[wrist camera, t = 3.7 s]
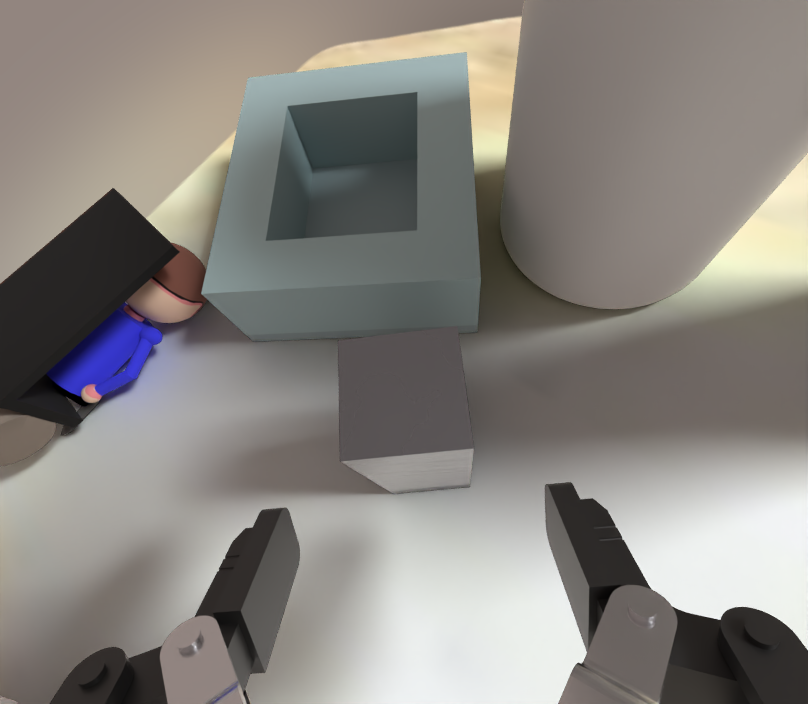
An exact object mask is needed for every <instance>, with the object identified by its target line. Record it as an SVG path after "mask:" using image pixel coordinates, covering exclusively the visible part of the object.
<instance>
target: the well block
mask: <svg viewBox="0 0 808 704" xmlns="http://www.w3.org/2000/svg"><path fill="white" fill-rule="evenodd" d="M480 284H481V272H480V256H479V240H478V224H477V208H476V193H475V177H474V161H473V145H472V129H471V113H470V97H469V81H468V65H467V52H464V53H456V54H447V55H439V56H430V57H422V58H413V59H405V60H396V61H387V62H379V63H370V64H362V65H353V66H345V67H336V68H328V69H319V70H311V71H302V72H294V73H286V74H277V75H268V76H260V77H251V78H248V80H247V85H246V90H245V94H244V100H243V104H242V108H241V113H240V117H239V122H238V127H237V131H236V136H235V140H234V145H233V150H232V154H231V159H230V163H229V168H228V173H227V177H226V182H225V186H224V191H223V196H222V200H221V205H220V210H219V214H218V219H217V223H216V228H215V233H214V237H213V242H212V246H211V251H210V256H209V260H208V265H207V269H206V274H205V279H204V283H203V288H202V292H201V294H202V295H203V296H204V297H205V298H206V299H207V300H208V301H209V302H211V303H212V304H213V305H214V306H215V307H216V308H217V309H218V310H219V311H220V312H221V313H223V314H224V315H225V316H226V317H227V318H228V319H229V320H230V321H231V322H232V323H233V324H234V325H236V326H237V327H238V328H239V329H240V330H241V331H242V332H243V333H244V334H245V335H246V336H247V337H249V338H250V339H251V340H252V341H253V342H257V341H282V340H306V339H330V338H354V337H371V336H379V335H387V334H395V333H403V332H412V331H420V330H428V329H436V328H444V327H453V326H457V327H458V333H475V332H478V316H479V300H480Z"/></svg>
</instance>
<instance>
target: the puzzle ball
mask: <svg viewBox="0 0 808 704" xmlns="http://www.w3.org/2000/svg"><path fill="white" fill-rule="evenodd" d="M0 704H18V703H17V702H16V701H15V700H11V699H8V698H4V697H3V696H0Z"/></svg>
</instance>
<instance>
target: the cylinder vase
mask: <svg viewBox="0 0 808 704" xmlns="http://www.w3.org/2000/svg"><path fill="white" fill-rule="evenodd" d="M807 153H808V0H524V4H523V13H522V22H521V31H520V40H519V49H518V58H517V67H516V76H515V85H514V94H513V103H512V112H511V121H510V130H509V139H508V148H507V157H506V166H505V175H504V184H503V193H502V202H501V211H500V227H501V233H502V237H503V241H504V244H505V246H506V249H507V251H508V253H509V255H510V257H511V258H512V260H513V261H514V263H515V264H516V266H517V267H518V268H519V269H520V270H521V272H522V273H523V274H524V275H525V276H526V277H527V278H529V279H530V280H531V281H532V282H533V283H535V284H536V285H537V286H539V287H540V288H542V289H543V290H545V291H546V292H548V293H550V294H552V295H554V296H556V297H558V298H560V299H563V300H565V301H568V302H571V303H574V304H578V305H582V306H586V307H592V308H600V309H626V308H634V307H640V306H644V305H648V304H652V303H655V302H658V301H660V300H663V299H665V298H667V297H669V296H671V295H673V294H675V293H677V292H678V291H680V290H681V289H683V288H684V287H686V286H687V285H688V284H690V283H691V282H692V281H693V280H694V279H695V278H696V277H697V276H698V275H699V274H700V273H701V272H702V271H703V270H704V269H705V267H706V266H707V265H708V264H709V263H710V262H711V261H712V260H713V258H714V257H715V256H716V255H717V254H718V253H719V252H720V251H721V250H722V248H723V247H724V246H725V245H726V244H727V243H728V242H729V241H730V239H731V238H732V237H733V236H734V235H735V234H736V233H737V232H738V231H739V229H740V228H741V227H742V226H743V225H744V224H745V223H746V222H747V220H748V219H749V218H750V217H751V216H752V215H753V214H754V213H755V212H756V210H757V209H758V208H759V207H760V206H761V205H762V204H763V203H764V201H765V200H766V199H767V198H768V197H769V196H770V195H771V194H772V193H773V191H774V190H775V189H776V188H777V187H778V186H779V185H780V184H781V182H782V181H783V180H784V179H785V178H786V177H787V176H788V175H789V174H790V172H791V171H792V170H793V169H794V168H795V167H796V166H797V165H798V163H799V162H800V161H801V160H802V159H803V158H804V157H805V156H806V155H807Z"/></svg>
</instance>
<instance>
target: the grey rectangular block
mask: <svg viewBox="0 0 808 704" xmlns="http://www.w3.org/2000/svg"><path fill="white" fill-rule="evenodd" d="M338 372H339V433H340V462H341V463H343V464H345V465H346V466H348V467H350V468H351V469H353V470H355V471H356V472H358V473H360V474H361V475H363V476H365V477H366V478H368V479H370V480H371V481H373V482H375V483H376V484H378V485H380V486H381V487H383V488H385V489H386V490H388V491H390V492H391V493H393V494H400V493H411V492H422V491H433V490H444V489H455V488H466V487H470V481H471V472H472V463H473V454H474V444H473V437H472V430H471V422H470V415H469V408H468V400H467V393H466V385H465V378H464V371H463V363H462V356H461V349H460V341H459V334H458V327H457V326H453V327H444V328H436V329H428V330H420V331H412V332H403V333H395V334H387V335H379V336H371V337H362V338H354V339H346V340H338Z"/></svg>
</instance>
